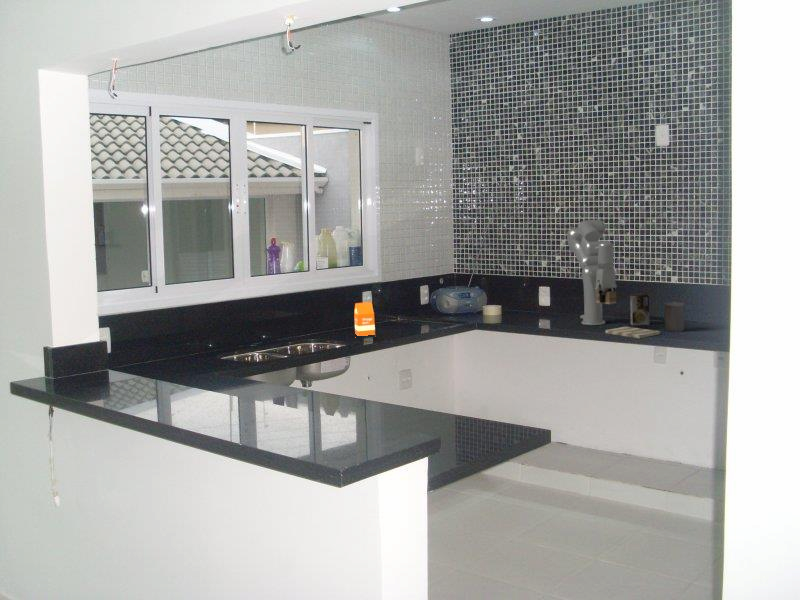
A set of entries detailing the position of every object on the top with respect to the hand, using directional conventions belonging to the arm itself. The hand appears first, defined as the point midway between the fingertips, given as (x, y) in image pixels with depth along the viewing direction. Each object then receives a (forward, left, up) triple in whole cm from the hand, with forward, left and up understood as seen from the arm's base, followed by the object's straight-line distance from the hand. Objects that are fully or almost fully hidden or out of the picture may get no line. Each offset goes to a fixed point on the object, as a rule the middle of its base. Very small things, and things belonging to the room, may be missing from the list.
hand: (606, 301), depth 449 cm
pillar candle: (+26, +21, -15) cm, 37 cm away
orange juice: (-70, -104, -15) cm, 126 cm away
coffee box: (+1, +24, -15) cm, 28 cm away
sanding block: (0, 0, -1) cm, 1 cm away
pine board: (+17, 0, -15) cm, 23 cm away
